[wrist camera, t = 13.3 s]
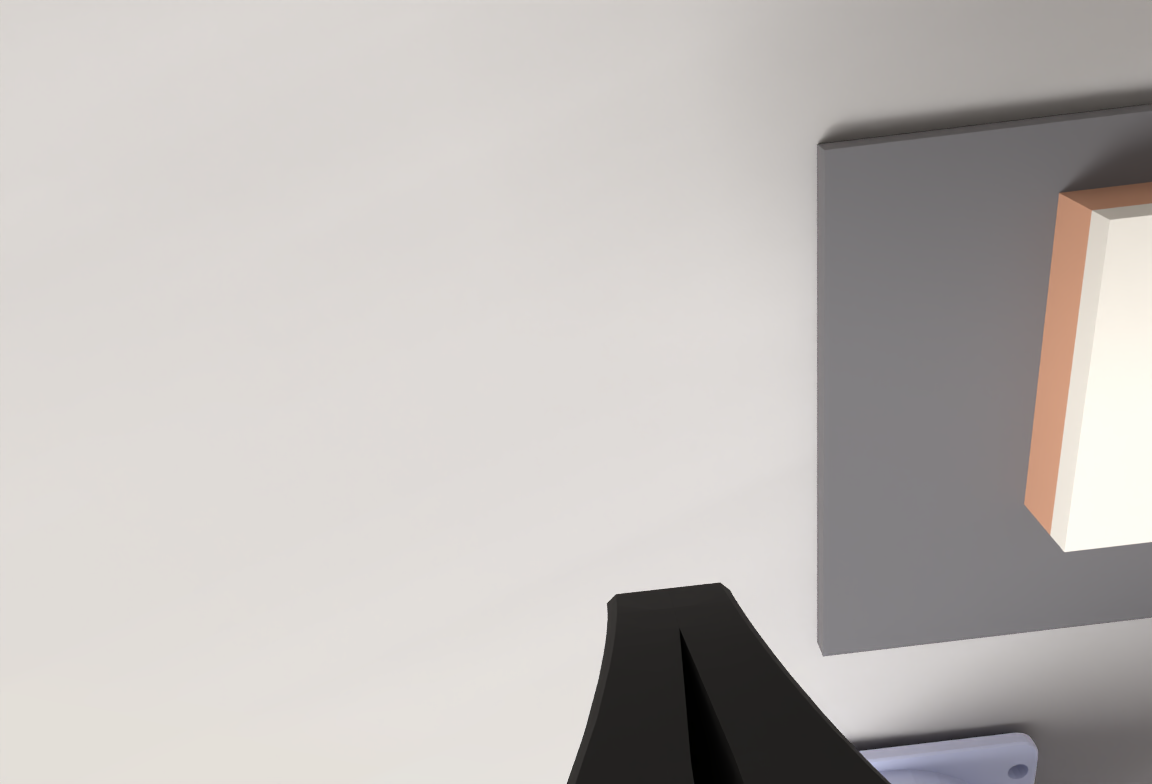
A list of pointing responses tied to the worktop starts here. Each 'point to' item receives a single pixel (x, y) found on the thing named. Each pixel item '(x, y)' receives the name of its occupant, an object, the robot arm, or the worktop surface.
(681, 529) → the worktop surface
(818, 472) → the mat
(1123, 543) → the tile
